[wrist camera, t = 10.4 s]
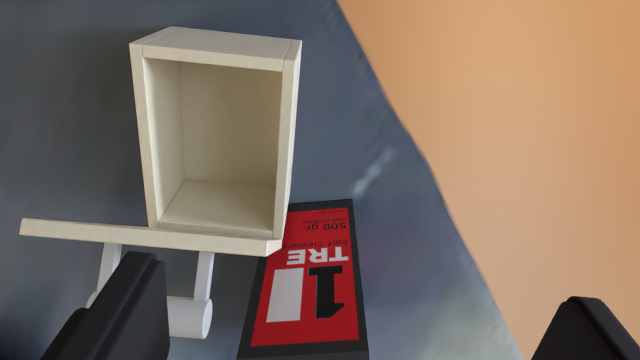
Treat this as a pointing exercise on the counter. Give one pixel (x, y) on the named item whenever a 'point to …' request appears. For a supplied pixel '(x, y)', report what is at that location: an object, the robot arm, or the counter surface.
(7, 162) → the counter surface
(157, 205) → the cool box
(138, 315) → the robot arm
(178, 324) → the cool box door
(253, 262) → the counter surface
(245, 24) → the counter surface
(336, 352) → the cleaning product box
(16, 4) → the counter surface
